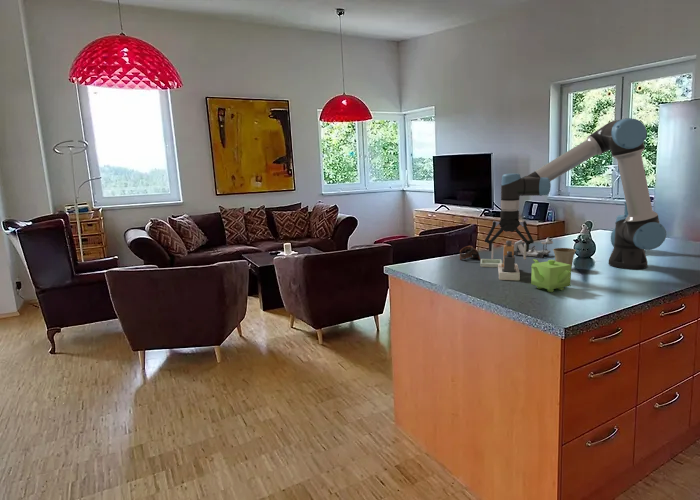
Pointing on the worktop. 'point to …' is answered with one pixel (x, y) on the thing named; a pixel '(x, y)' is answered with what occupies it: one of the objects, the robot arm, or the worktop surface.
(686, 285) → the worktop surface
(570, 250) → the flower pot
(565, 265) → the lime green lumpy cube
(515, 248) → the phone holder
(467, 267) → the worktop surface
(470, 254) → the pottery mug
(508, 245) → the plug
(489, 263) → the tray
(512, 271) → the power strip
